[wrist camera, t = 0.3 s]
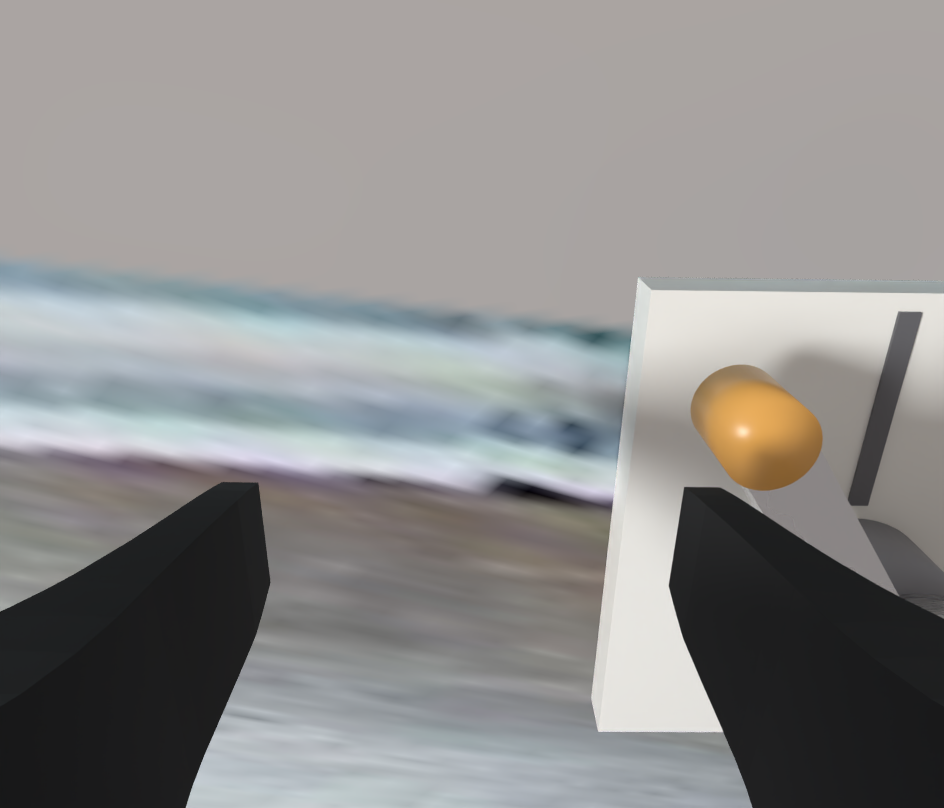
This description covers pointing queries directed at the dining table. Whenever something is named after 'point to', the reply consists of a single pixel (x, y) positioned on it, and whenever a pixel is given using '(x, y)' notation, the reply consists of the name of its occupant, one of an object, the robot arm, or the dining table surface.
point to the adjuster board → (694, 465)
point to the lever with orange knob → (786, 467)
